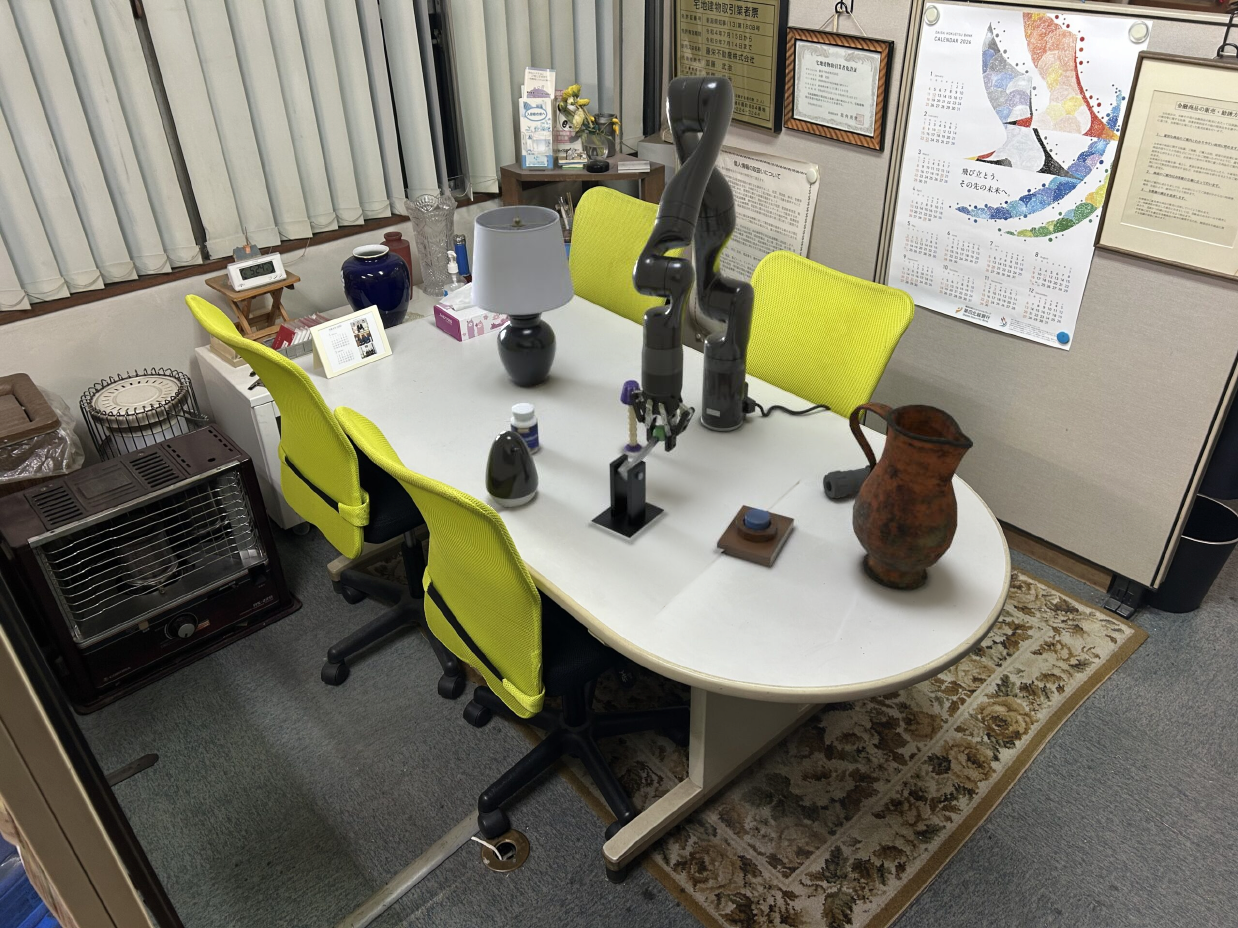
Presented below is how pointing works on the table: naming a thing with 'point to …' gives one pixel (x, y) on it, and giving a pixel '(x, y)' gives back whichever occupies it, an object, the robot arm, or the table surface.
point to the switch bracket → (627, 500)
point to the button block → (755, 538)
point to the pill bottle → (526, 425)
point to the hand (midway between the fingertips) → (660, 446)
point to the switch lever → (643, 451)
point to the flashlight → (844, 482)
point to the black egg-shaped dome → (510, 471)
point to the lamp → (521, 284)
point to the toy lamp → (631, 415)
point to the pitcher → (908, 493)
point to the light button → (757, 519)
